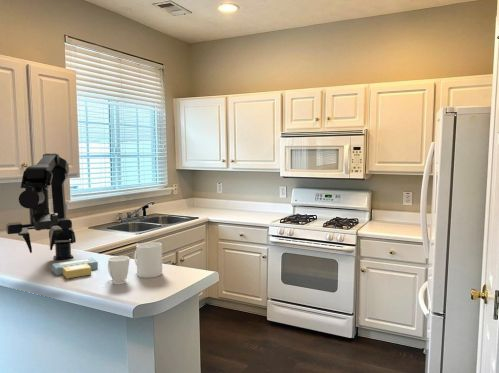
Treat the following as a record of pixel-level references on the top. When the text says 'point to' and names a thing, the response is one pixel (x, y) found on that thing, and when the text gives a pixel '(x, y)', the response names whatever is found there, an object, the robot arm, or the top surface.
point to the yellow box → (76, 270)
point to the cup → (118, 268)
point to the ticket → (58, 267)
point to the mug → (149, 259)
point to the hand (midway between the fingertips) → (41, 251)
